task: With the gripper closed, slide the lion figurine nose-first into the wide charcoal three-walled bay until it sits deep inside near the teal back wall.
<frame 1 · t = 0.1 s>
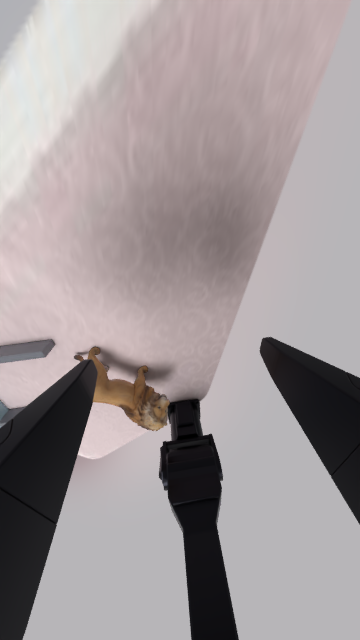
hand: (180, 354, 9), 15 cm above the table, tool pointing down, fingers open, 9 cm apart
lion figurine: (128, 365, 29), on the table
chassis bay: (26, 381, 28), on the table
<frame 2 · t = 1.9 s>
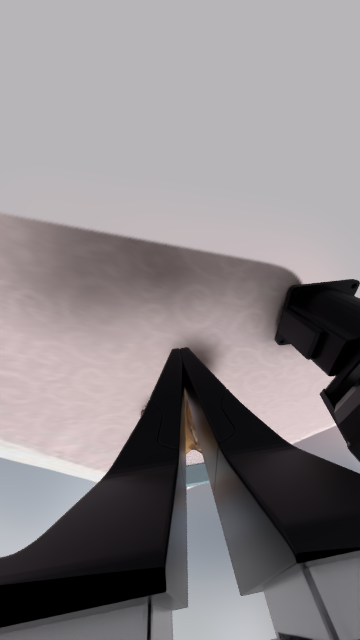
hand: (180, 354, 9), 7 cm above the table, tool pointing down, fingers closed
lion figurine: (175, 386, 21), on the table
chassis bay: (185, 450, 29), on the table
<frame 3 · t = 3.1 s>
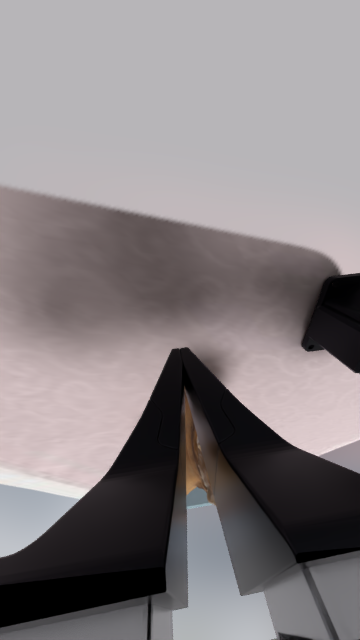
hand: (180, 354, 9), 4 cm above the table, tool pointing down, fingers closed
lion figurine: (178, 402, 18), on the table
chassis bay: (190, 467, 26), on the table
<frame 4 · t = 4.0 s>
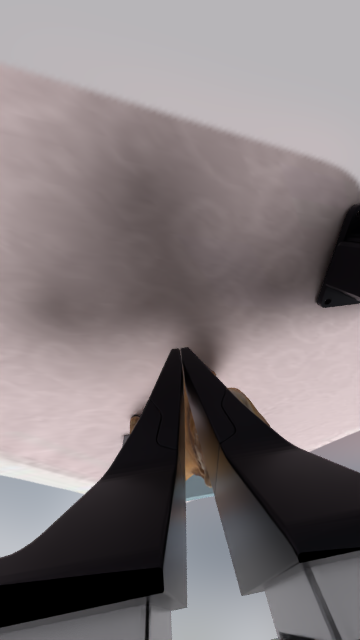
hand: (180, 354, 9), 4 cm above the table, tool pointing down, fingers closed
lion figurine: (173, 387, 17), on the table, touching gripper
chassis bay: (189, 455, 24), on the table
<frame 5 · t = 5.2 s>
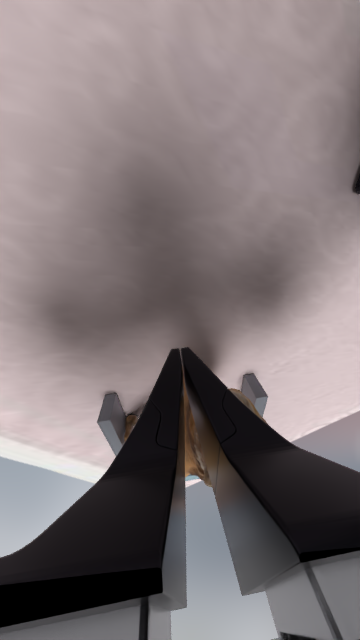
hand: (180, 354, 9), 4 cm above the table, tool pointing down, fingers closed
lion figurine: (171, 386, 17), on the table, touching gripper
chassis bay: (185, 425, 20), on the table
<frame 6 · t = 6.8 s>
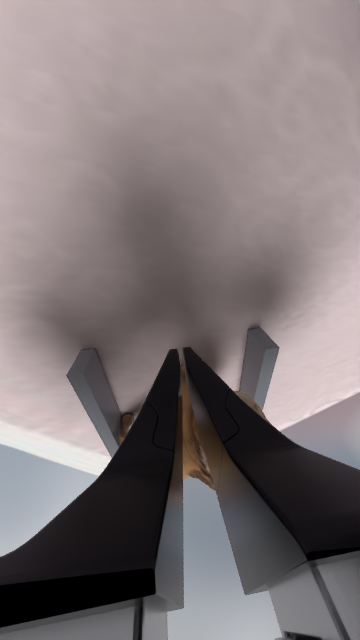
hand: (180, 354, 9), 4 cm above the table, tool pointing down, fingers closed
lion figurine: (171, 387, 17), on the table, touching chassis bay, gripper
chassis bay: (179, 396, 17), on the table
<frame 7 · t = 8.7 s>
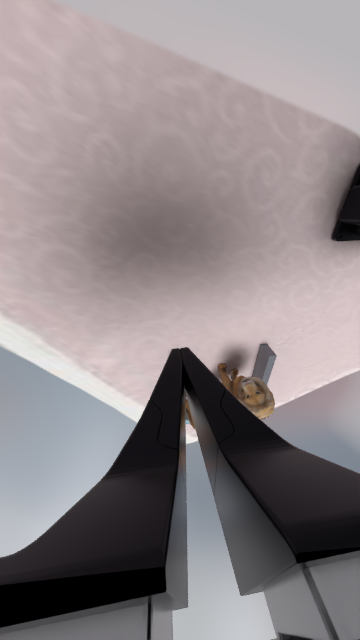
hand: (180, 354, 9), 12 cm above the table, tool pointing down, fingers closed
lion figurine: (212, 375, 29), on the table
chassis bay: (216, 380, 29), on the table
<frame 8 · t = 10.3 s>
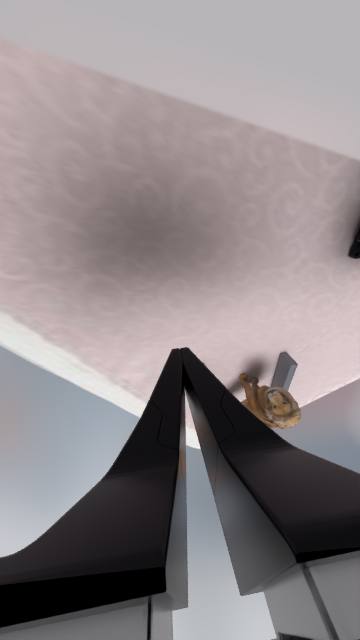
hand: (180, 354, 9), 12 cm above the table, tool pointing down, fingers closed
lion figurine: (233, 385, 30), on the table, touching chassis bay
chassis bay: (238, 388, 30), on the table
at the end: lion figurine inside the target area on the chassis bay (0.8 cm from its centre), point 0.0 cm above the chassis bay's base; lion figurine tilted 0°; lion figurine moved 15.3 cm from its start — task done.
